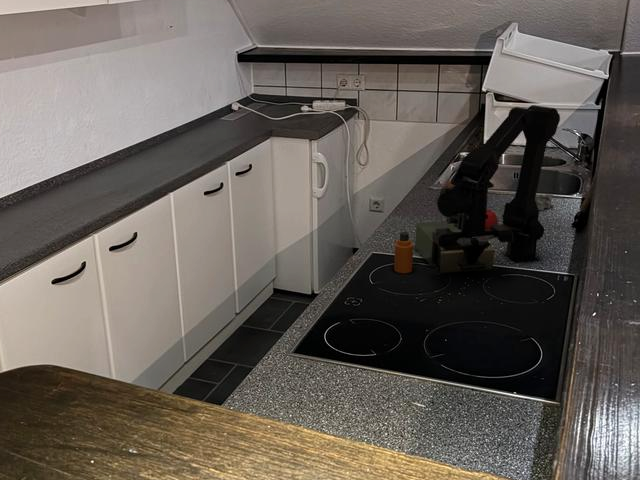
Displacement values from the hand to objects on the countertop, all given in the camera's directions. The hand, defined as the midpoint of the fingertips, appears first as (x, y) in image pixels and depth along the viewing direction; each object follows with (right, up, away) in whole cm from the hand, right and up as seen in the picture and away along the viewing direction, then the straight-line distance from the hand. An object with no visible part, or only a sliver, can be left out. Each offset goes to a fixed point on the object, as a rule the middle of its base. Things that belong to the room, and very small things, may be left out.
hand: (470, 267), depth 189 cm
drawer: (-1, +1, +7) cm, 7 cm away
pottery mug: (+9, +20, +59) cm, 63 cm away
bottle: (-16, -1, +7) cm, 17 cm away
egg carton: (+33, +19, +53) cm, 65 cm away
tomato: (+11, +9, +30) cm, 33 cm away
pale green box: (-2, +3, +15) cm, 16 cm away
